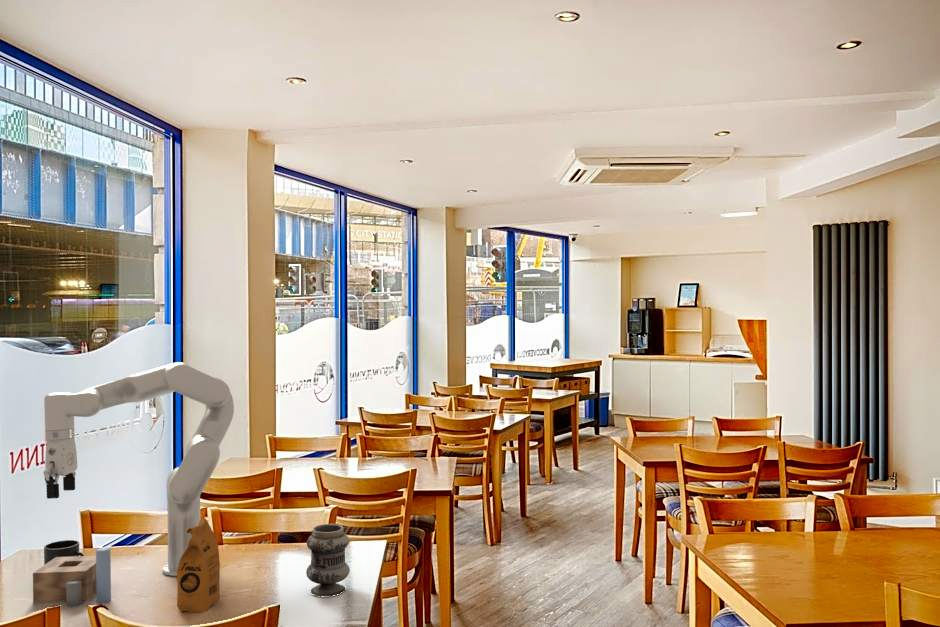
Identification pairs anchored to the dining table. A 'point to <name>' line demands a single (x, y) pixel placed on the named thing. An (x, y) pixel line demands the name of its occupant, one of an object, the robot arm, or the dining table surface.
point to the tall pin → (103, 575)
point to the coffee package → (199, 571)
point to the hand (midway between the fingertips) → (61, 494)
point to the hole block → (64, 578)
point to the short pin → (73, 593)
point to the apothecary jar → (327, 559)
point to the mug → (61, 550)
